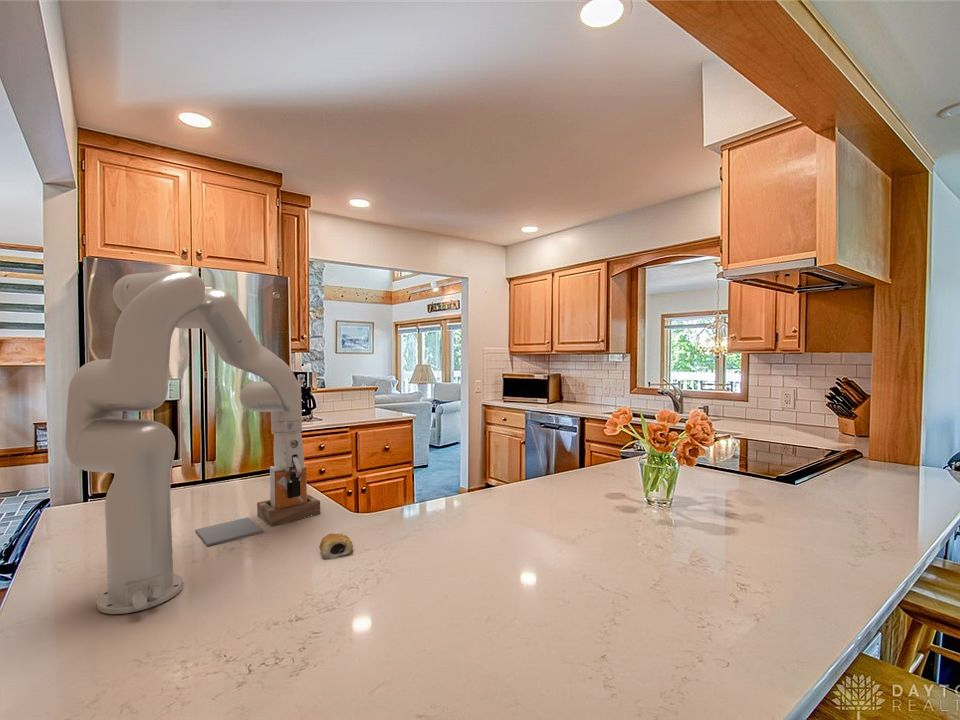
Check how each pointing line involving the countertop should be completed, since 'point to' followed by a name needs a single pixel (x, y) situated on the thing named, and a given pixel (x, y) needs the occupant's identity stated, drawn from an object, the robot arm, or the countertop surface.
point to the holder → (287, 511)
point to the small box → (285, 488)
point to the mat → (228, 531)
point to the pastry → (335, 546)
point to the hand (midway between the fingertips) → (288, 493)
